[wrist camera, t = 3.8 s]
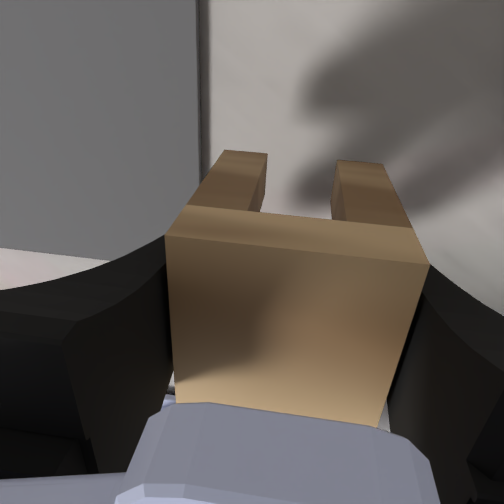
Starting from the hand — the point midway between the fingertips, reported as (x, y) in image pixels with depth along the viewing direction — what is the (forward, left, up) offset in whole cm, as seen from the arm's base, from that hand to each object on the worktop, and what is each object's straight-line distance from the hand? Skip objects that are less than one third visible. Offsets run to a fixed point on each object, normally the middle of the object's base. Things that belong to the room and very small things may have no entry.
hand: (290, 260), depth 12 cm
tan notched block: (0, 0, -2) cm, 2 cm away
